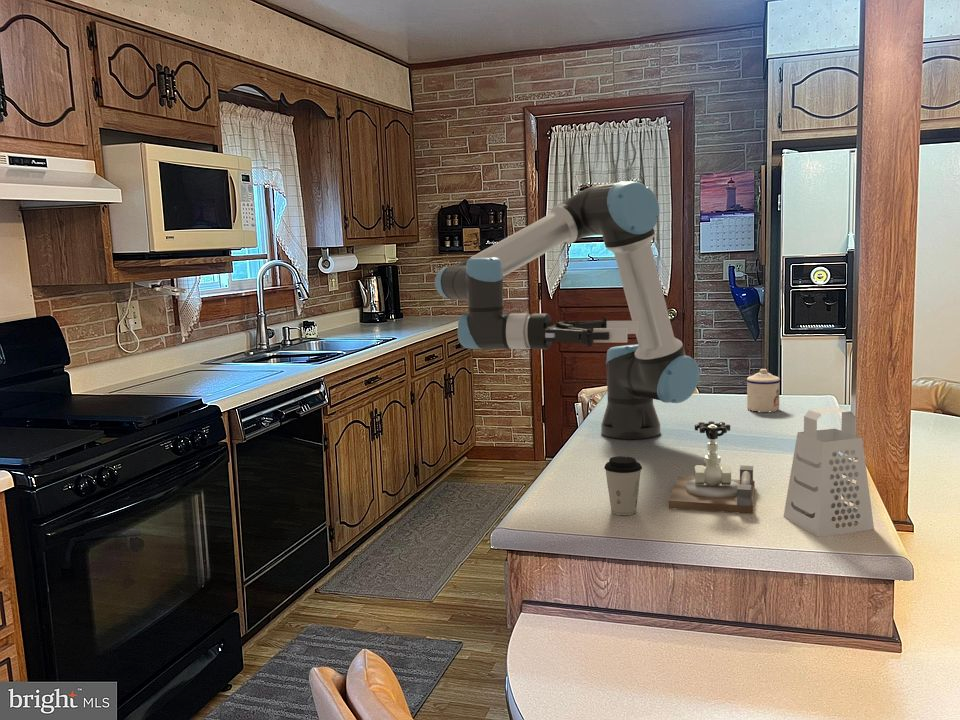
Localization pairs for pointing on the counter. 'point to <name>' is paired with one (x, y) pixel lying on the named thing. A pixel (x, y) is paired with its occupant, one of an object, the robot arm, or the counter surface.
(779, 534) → the counter surface
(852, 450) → the grater
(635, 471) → the coffee cup
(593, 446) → the counter surface
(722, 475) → the valve
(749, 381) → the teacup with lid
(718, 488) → the shaft stand
